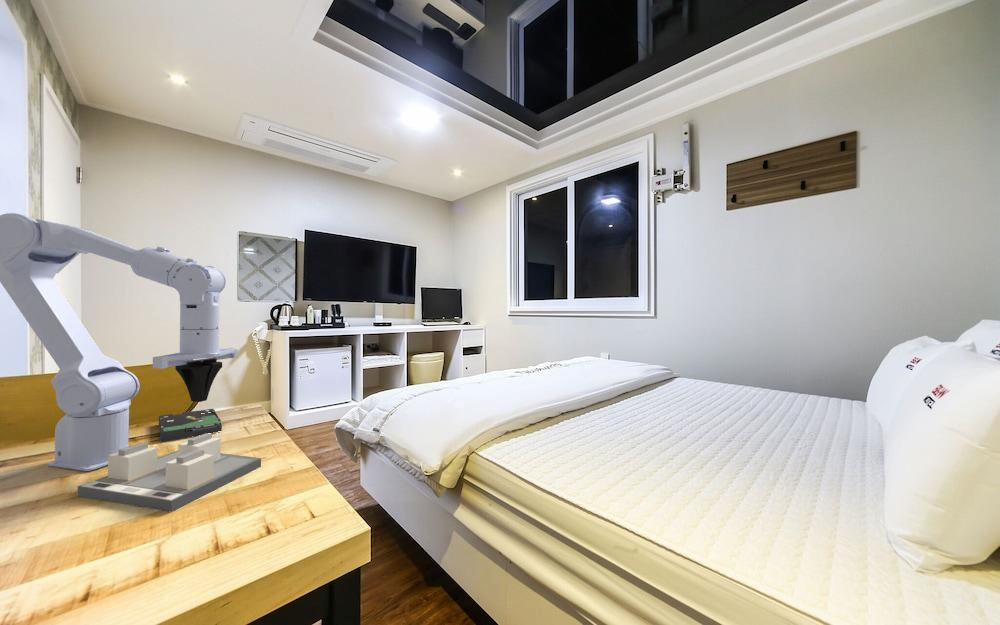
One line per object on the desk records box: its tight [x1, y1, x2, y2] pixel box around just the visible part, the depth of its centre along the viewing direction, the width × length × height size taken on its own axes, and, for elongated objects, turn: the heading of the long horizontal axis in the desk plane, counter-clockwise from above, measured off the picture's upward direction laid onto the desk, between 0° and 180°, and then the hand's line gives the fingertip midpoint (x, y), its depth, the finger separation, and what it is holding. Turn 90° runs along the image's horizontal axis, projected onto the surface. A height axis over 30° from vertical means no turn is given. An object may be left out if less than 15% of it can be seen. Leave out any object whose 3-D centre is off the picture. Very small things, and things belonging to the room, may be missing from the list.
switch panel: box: [77, 450, 262, 513], centre depth 60 cm, size 17×15×2 cm
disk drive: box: [158, 408, 223, 443], centre depth 84 cm, size 10×3×15 cm
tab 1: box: [107, 442, 159, 481], centre depth 58 cm, size 4×4×4 cm
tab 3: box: [165, 449, 214, 489], centre depth 56 cm, size 4×4×4 cm
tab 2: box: [177, 433, 222, 461], centre depth 63 cm, size 4×4×4 cm
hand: (199, 400), depth 69 cm, fingers closed
